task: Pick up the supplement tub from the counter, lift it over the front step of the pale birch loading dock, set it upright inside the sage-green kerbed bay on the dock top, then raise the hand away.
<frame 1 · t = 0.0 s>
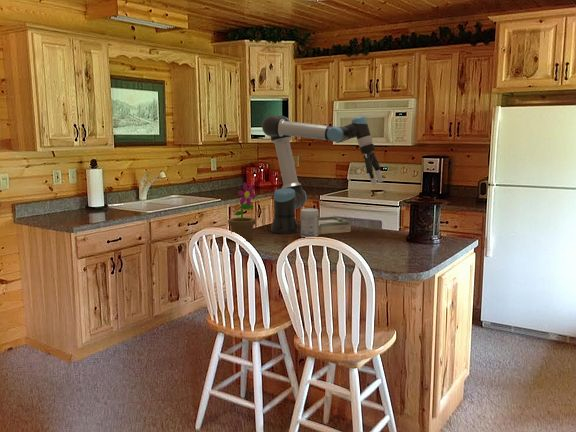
hand: (377, 183, 292), 28 cm above the countertop, tool tilted 20°, fingers open, 13 cm apart
flowerpot: (242, 239, 282), on the countertop
loading dock: (328, 229, 308), on the countertop
supplement tub: (309, 237, 288), on the countertop
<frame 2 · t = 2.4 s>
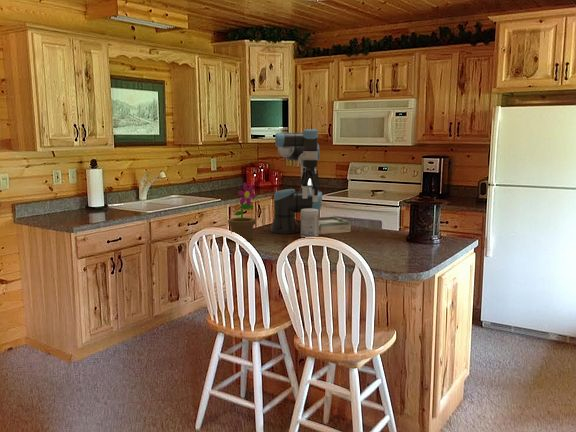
hand: (309, 200, 285), 20 cm above the countertop, tool pointing down, fingers open, 13 cm apart
nothing on the countertop moved.
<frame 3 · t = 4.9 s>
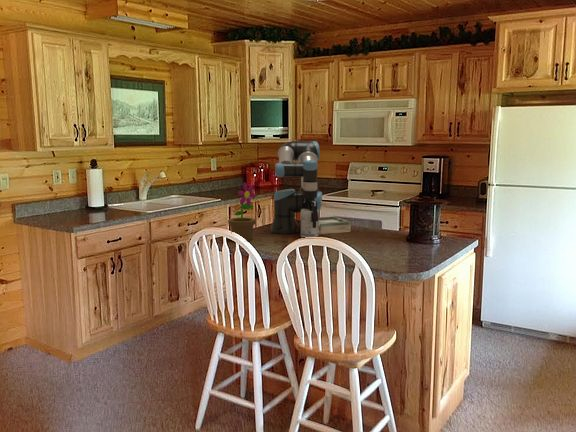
hand: (309, 232, 288), 3 cm above the countertop, tool pointing down, fingers closed on supplement tub, 9 cm apart
supplement tub: (309, 237, 288), on the countertop, touching gripper
everything else where it was.
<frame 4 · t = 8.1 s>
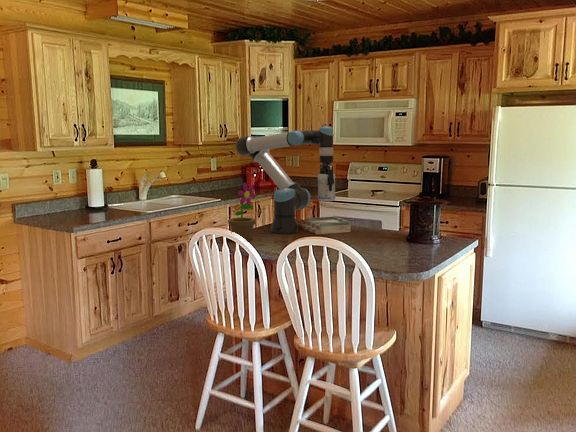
hand: (326, 195, 301), 20 cm above the countertop, tool pointing down, fingers closed on supplement tub, 9 cm apart
supplement tub: (326, 200, 301), point 17 cm above the countertop, touching gripper
everything else where it was.
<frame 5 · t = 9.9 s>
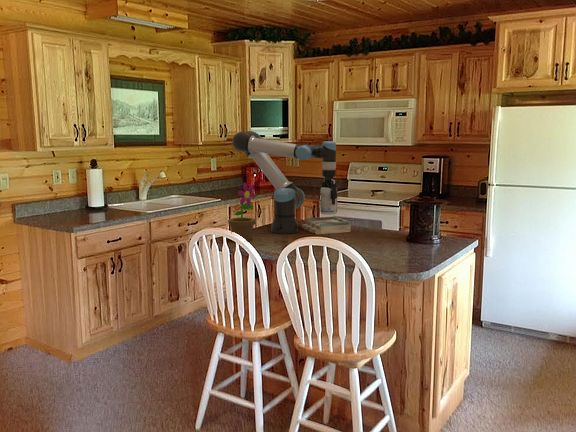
hand: (328, 209, 306), 12 cm above the countertop, tool pointing down, fingers closed on supplement tub, 9 cm apart
supplement tub: (328, 213, 307), point 9 cm above the countertop, touching gripper
everything else where it was.
when the fingers open (9 cm above the countertop, at t = 11.5 s): supplement tub drops 2 cm, resting on loading dock.
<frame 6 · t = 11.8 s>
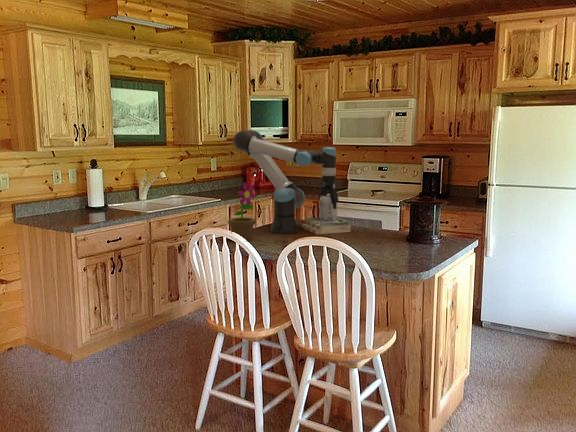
hand: (328, 212, 307), 10 cm above the countertop, tool pointing down, fingers open, 13 cm apart
supplement tub: (328, 222, 308), point 4 cm above the countertop, touching loading dock
everything else where it was.
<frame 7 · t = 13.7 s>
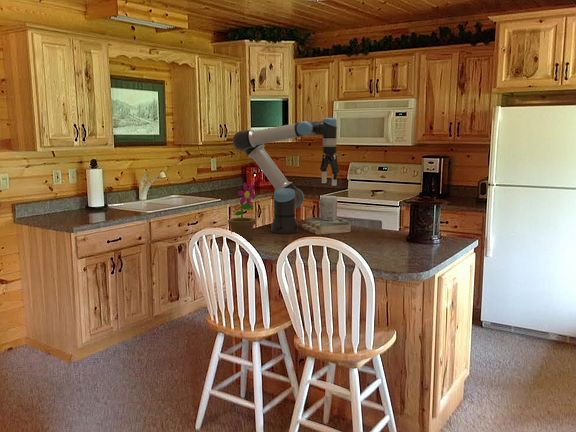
hand: (329, 184, 305), 26 cm above the countertop, tool pointing down, fingers open, 13 cm apart
nothing on the countertop moved.
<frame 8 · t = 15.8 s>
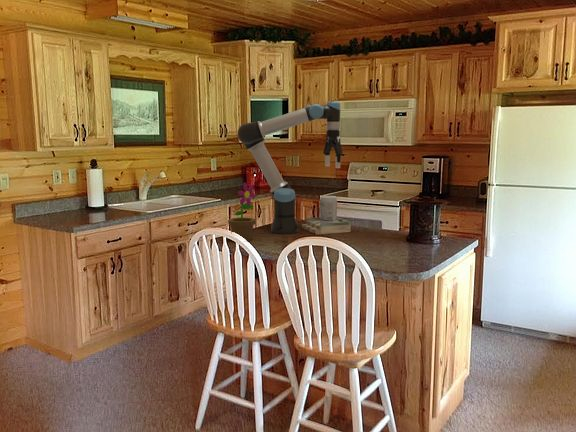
hand: (332, 167, 310), 35 cm above the countertop, tool pointing down, fingers open, 13 cm apart
nothing on the countertop moved.
at the end: supplement tub inside the target area on the loading dock (0.0 cm from its centre), point 4.0 cm above the loading dock's base; supplement tub tilted 0°; the gripper is holding nothing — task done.
